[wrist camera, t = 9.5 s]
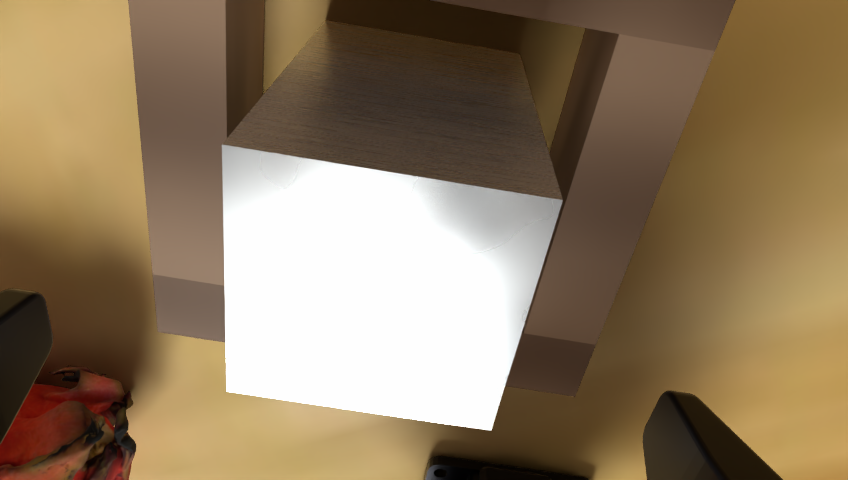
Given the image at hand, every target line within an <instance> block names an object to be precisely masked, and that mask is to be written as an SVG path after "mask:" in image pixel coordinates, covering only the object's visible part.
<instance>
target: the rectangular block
mask: <svg viewBox="0 0 848 480" xmlns="http://www.w3.org/2000/svg"><path fill="white" fill-rule="evenodd" d="M222 177H223V228H224V279H225V331H226V382H227V392H234V393H240V394H247V395H254V396H261V397H267V398H274V399H281V400H287V401H294V402H301V403H308V404H314V405H321V406H328V407H335V408H341V409H348V410H355V411H361V412H368V413H375V414H382V415H388V416H395V417H402V418H409V419H415V420H422V421H429V422H435V423H442V424H449V425H456V426H462V427H469V428H476V429H483V430H489V431H491V430H492V426H493V423H494V420H495V417H496V414H497V410H498V407H499V404H500V401H501V397H502V394H503V391H504V388H505V385H506V381H507V378H508V375H509V372H510V369H511V365H512V362H513V359H514V356H515V353H516V349H517V346H518V343H519V340H520V336H521V333H522V330H523V327H524V324H525V320H526V317H527V314H528V311H529V308H530V304H531V301H532V298H533V295H534V292H535V288H536V285H537V282H538V279H539V275H540V272H541V269H542V266H543V263H544V259H545V256H546V253H547V250H548V247H549V243H550V240H551V237H552V234H553V230H554V227H555V224H556V221H557V218H558V214H559V211H560V208H561V205H562V202H563V199H562V196H561V192H560V189H559V185H558V182H557V179H556V175H555V172H554V168H553V165H552V162H551V158H550V155H549V151H548V148H547V145H546V141H545V138H544V134H543V131H542V128H541V124H540V121H539V118H538V114H537V111H536V107H535V104H534V101H533V97H532V94H531V90H530V87H529V84H528V80H527V77H526V73H525V70H524V67H523V63H522V60H521V56H520V54H519V53H514V52H508V51H502V50H496V49H490V48H485V47H479V46H473V45H467V44H461V43H456V42H450V41H444V40H438V39H432V38H426V37H421V36H415V35H409V34H403V33H397V32H392V31H386V30H380V29H374V28H368V27H363V26H357V25H351V24H345V23H339V22H334V21H328V20H325V22H324V23H323V24H322V25H321V26H320V28H319V29H318V30H317V31H316V32H315V34H314V35H313V36H312V37H311V38H310V40H309V41H308V42H307V43H306V44H305V46H304V47H303V48H302V49H301V50H300V52H299V53H298V54H297V55H296V56H295V58H294V59H293V60H292V61H291V62H290V64H289V65H288V66H287V67H286V68H285V70H284V71H283V72H282V73H281V74H280V76H279V77H278V78H277V79H276V80H275V82H274V83H273V84H272V85H271V86H270V88H269V89H268V90H267V91H266V92H265V93H264V95H263V96H262V97H261V98H260V99H259V101H258V102H257V103H256V104H255V105H254V107H253V108H252V109H251V110H250V111H249V113H248V114H247V115H246V116H245V117H244V119H243V120H242V121H241V122H240V123H239V125H238V126H237V127H236V128H235V129H234V131H233V132H232V133H231V134H230V135H229V137H228V138H227V139H226V140H225V141H224V143H223V144H222Z"/></svg>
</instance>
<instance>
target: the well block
mask: <svg viewBox="0 0 848 480" xmlns="http://www.w3.org/2000/svg"><path fill="white" fill-rule="evenodd" d="M432 1H437V2H443V3H448V4H454V5H459V6H465V7H471V8H476V9H482V10H487V11H493V12H499V13H504V14H510V15H515V16H521V17H527V18H532V19H538V20H543V21H549V22H555V23H560V24H566V25H571V26H577V27H582V28H586V30H585V33H584V37H583V40H582V44H581V47H580V50H579V54H578V57H577V61H576V64H575V68H574V71H573V75H572V78H571V81H570V85H569V88H568V92H567V95H566V99H565V102H564V106H563V109H562V113H561V116H560V119H559V123H558V126H557V130H556V133H555V137H554V140H553V144H552V147H551V151H550V154H549V155H550V158H551V162H552V165H553V168H554V172H555V175H556V179H557V182H558V185H559V189H560V192H561V196H562V199H563V202H562V205H561V208H560V211H559V214H558V218H557V221H556V224H555V227H554V230H553V234H552V237H551V240H550V243H549V247H548V250H547V253H546V256H545V259H544V263H543V266H542V269H541V272H540V275H539V279H538V282H537V285H536V288H535V292H534V295H533V298H532V301H531V304H530V308H529V311H528V314H527V317H526V320H525V324H524V327H523V330H522V333H521V336H520V340H519V343H518V346H517V349H516V353H515V356H514V359H513V362H512V365H511V369H510V372H509V375H508V378H507V381H506V385H505V386H509V387H516V388H522V389H529V390H535V391H542V392H548V393H554V394H561V395H567V396H574V397H575V395H576V393H577V391H578V388H579V386H580V383H581V381H582V378H583V376H584V373H585V371H586V368H587V366H588V363H589V361H590V358H591V356H592V353H593V351H594V349H595V346H596V344H597V341H598V339H599V336H600V334H601V331H602V329H603V326H604V324H605V321H606V319H607V316H608V314H609V312H610V309H611V307H612V304H613V302H614V299H615V297H616V294H617V292H618V289H619V287H620V284H621V282H622V279H623V277H624V274H625V272H626V270H627V267H628V265H629V262H630V260H631V257H632V255H633V252H634V250H635V247H636V245H637V242H638V240H639V237H640V235H641V232H642V230H643V228H644V225H645V223H646V220H647V218H648V215H649V213H650V210H651V208H652V205H653V203H654V200H655V198H656V195H657V193H658V190H659V188H660V186H661V183H662V181H663V178H664V176H665V173H666V171H667V168H668V166H669V163H670V161H671V158H672V156H673V153H674V151H675V148H676V146H677V144H678V141H679V139H680V136H681V134H682V131H683V129H684V126H685V124H686V121H687V119H688V116H689V114H690V111H691V109H692V106H693V104H694V102H695V99H696V97H697V94H698V92H699V89H700V87H701V84H702V82H703V79H704V77H705V74H706V72H707V69H708V67H709V65H710V62H711V60H712V57H713V55H714V52H715V50H716V47H717V45H718V42H719V40H720V37H721V35H722V32H723V30H724V27H725V25H726V23H727V20H728V18H729V15H730V13H731V10H732V8H733V5H734V3H735V0H432ZM128 3H129V14H130V25H131V37H132V48H133V59H134V70H135V82H136V93H137V104H138V115H139V126H140V138H141V149H142V160H143V171H144V182H145V194H146V205H147V216H148V227H149V239H150V250H151V261H152V272H153V283H154V295H155V306H156V317H157V328H158V332H162V333H168V334H175V335H181V336H188V337H194V338H201V339H207V340H213V341H220V342H226V331H225V279H224V228H223V177H222V144H223V143H224V141H225V140H226V139H227V138H228V137H229V135H230V134H231V133H232V132H233V131H234V129H235V128H236V127H237V126H238V125H239V123H240V122H241V121H242V120H243V119H244V117H245V116H246V115H247V114H248V113H249V111H250V110H251V109H252V108H253V107H254V105H255V104H256V103H257V102H258V101H259V99H260V98H261V97H262V96H263V56H264V11H265V0H128Z"/></svg>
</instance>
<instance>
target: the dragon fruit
mask: <svg viewBox="0 0 848 480" xmlns="http://www.w3.org/2000/svg"><path fill="white" fill-rule="evenodd" d="M70 366H71V365H70ZM49 373H50V374H54V375H55V374H64V373H74V375H73V376H65V375H64V376H65V377H63V378H62V381H69V382H79V383H78V385H77V386H76V387H75V388H73V389H67V388H64V387H59V386H51V385H41V384H33V385H32V387H31V389H30V391H29V393H28V395H27V397H26V399H25V400H24V402H23V404H22V406H21V408H20V410H19V412H18V414H17V415H16V417H15V419H14V421H13V423H12V425H11V427H10V429H9V430H8V432H7V434H6V436H5V438H4V439H3V441H2V443H1V444H0V480H129V475H130V470H131V463H132V460H133V458H134V455H135V452H136V443H135V441H134V440H133V439H132V438H131V437H130V436H129V434H128V432H127V430H128V420H127V417H126V409H128V408H130V407H131V406H132V405H133V401H132V399H131V393H130V391H129V392H128V393H127V394H125V395H124V391H123V388H122V385H121V383H120V381H118V380H114V379H111V378H106V377H104V375H106V374H102V375H103V376H98V375H96V374H99V373H95V374H93V373H94V372H92V371H90V370H89V369H88V368H86V367H75V368H73V367H69V366H68V367H66V368H63V369H60V370H57V371H55V372H49ZM114 425H115V428H114V427H113V426H114Z"/></svg>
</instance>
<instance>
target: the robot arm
mask: <svg viewBox="0 0 848 480" xmlns="http://www.w3.org/2000/svg"><path fill="white" fill-rule="evenodd" d="M52 343H53V334H52V329H51V325H50V320H49V315H48V310H47V306H46V301H45V298H44V297H43V296H42V295H41V294H40V293H38V292H34V291H27V290H21V289H7V290H4V291H2V292H0V444H1V443H2V441H3V439H4V438H5V436H6V434H7V432H8V430H9V429H10V427H11V425H12V423H13V421H14V419H15V417H16V415H17V414H18V412H19V410H20V408H21V406H22V404H23V402H24V400H25V399H26V397H27V395H28V393H29V391H30V389H31V387H32V385H33V384H34V382H35V380H36V378H37V376H38V374H39V372H40V370H41V369H42V367H43V365H44V363H45V361H46V359H47V357H48V355H49V353H50V351H51V348H52ZM643 449H644V457H645V466H646V474H647V480H783V479H782V478H781V477H780V476H779V475H778V474H777V473H776V472H775V471H774V470H773V469H771V468H770V467H769V466H768V465H767V464H766V463H765V462H764V461H763V460H762V459H761V458H760V457H759V456H758V455H757V454H756V453H755V452H754V451H753V450H752V449H751V448H750V447H749V446H748V445H747V444H746V443H744V442H743V441H742V440H741V439H740V438H739V437H738V436H737V435H736V434H735V433H734V432H733V431H732V430H731V429H730V428H729V427H728V426H727V425H726V424H725V423H724V422H723V421H722V420H721V419H720V418H718V417H717V416H716V415H715V414H714V413H713V412H712V411H711V410H710V409H709V408H708V407H707V406H706V405H705V404H704V403H703V402H702V401H701V400H700V399H699V398H697V397H696V396H695V395H693V394H690V393H683V392H677V391H666V392H664V393H663V394H662V395H661V397H660V398H659V400H658V402H657V404H656V406H655V408H654V410H653V412H652V414H651V416H650V418H649V420H648V422H647V424H646V426H645V429H644V433H643ZM424 480H589V479H588V478H584V477H579V476H572V475H565V474H559V473H552V472H545V471H539V470H532V469H526V468H519V467H512V466H506V465H499V464H492V463H486V462H479V461H472V460H466V459H459V458H452V457H446V456H436V457H433V458H431V459H430V460H429V462H428V465H427V469H426V473H425V477H424Z"/></svg>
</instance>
